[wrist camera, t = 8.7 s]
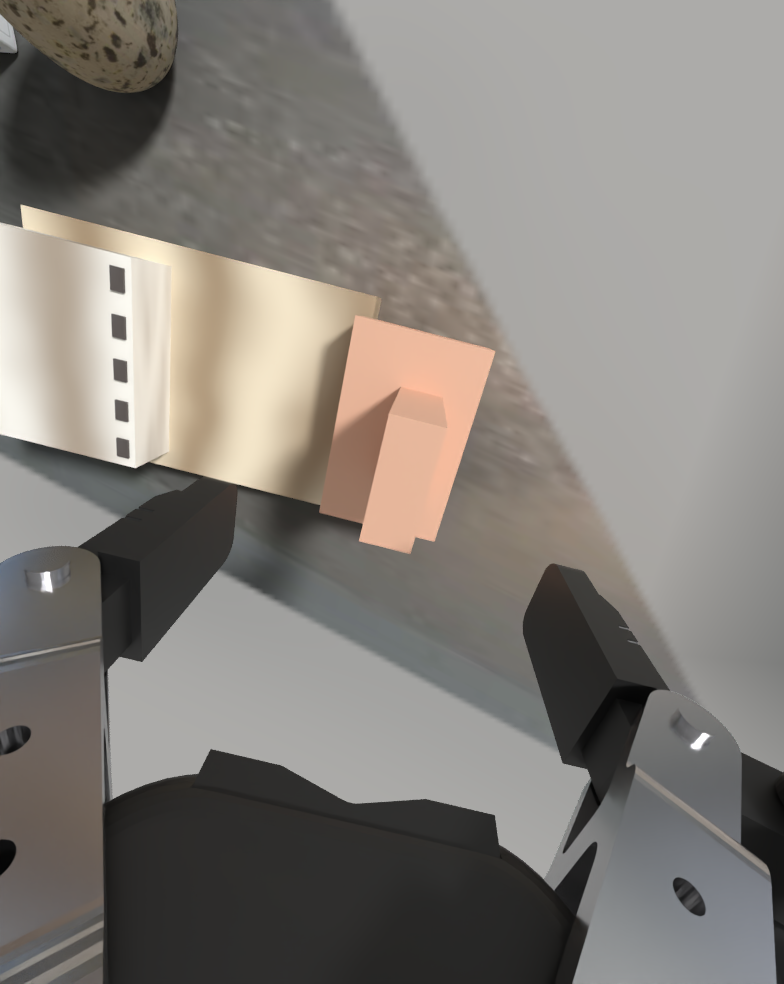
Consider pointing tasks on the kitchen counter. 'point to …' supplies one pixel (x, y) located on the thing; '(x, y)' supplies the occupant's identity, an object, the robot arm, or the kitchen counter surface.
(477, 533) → the kitchen counter surface
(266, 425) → the pad
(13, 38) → the light bulb box
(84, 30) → the decorative egg
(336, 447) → the stub
